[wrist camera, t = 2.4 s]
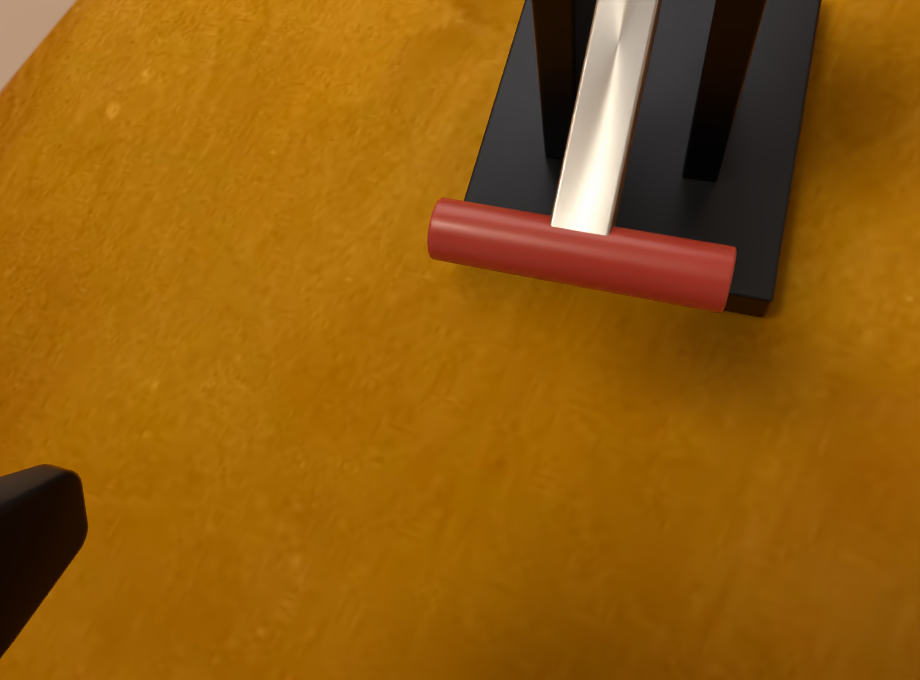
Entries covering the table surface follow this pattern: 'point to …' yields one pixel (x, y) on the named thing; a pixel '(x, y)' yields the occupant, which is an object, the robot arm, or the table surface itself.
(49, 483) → the robot arm
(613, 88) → the lever
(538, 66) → the bracket
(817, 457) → the table surface
